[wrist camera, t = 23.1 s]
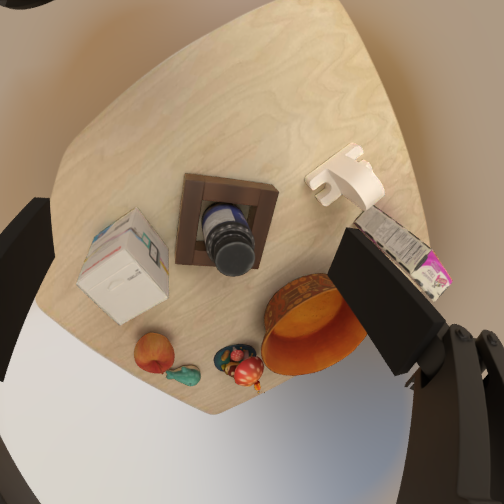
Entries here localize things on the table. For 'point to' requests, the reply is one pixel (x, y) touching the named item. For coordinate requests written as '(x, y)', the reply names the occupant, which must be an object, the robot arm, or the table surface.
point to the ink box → (126, 268)
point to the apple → (154, 353)
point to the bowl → (308, 327)
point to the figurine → (240, 364)
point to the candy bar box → (405, 251)
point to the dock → (228, 192)
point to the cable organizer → (347, 179)
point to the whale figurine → (185, 375)
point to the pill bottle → (228, 239)
